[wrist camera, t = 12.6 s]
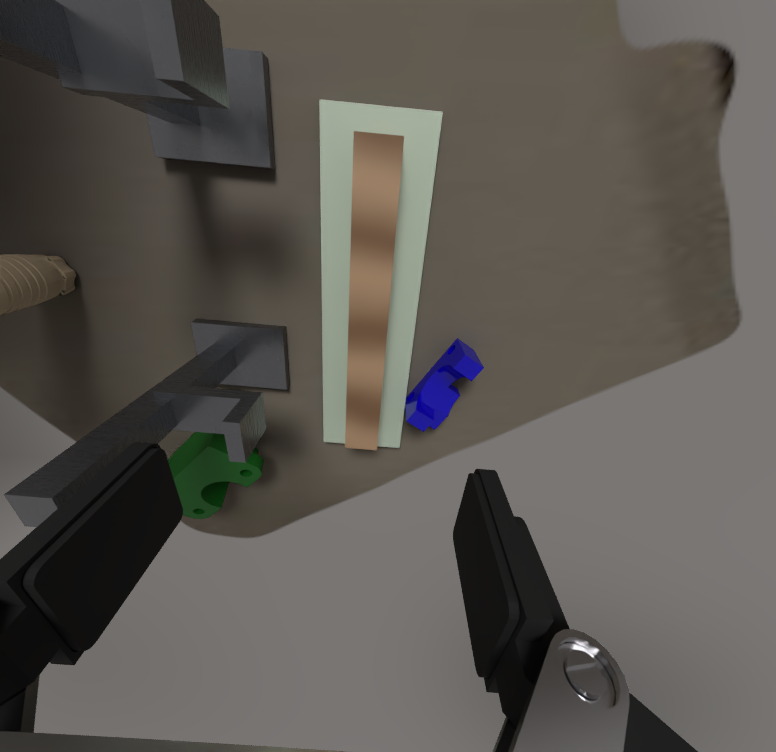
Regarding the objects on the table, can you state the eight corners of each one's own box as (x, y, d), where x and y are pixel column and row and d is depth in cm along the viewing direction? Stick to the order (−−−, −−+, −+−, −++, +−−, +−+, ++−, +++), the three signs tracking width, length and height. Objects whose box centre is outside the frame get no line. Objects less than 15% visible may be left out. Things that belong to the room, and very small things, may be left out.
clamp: (234, 447, 41) (197, 521, 36) (188, 426, 38) (140, 504, 32) (284, 429, 34) (247, 519, 28) (233, 401, 31) (180, 496, 25)
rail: (358, 141, 21) (353, 130, 19) (403, 145, 21) (404, 136, 19) (349, 428, 32) (345, 447, 30) (378, 430, 32) (376, 450, 30)
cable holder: (432, 414, 33) (436, 439, 29) (404, 398, 32) (406, 421, 29) (485, 357, 30) (497, 377, 26) (456, 337, 29) (465, 354, 25)
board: (322, 103, 21) (319, 99, 20) (440, 116, 21) (442, 111, 21) (325, 435, 34) (323, 441, 33) (399, 441, 34) (399, 447, 33)
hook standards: (142, 46, 20) (-825, -585, 4) (284, 60, 20) (-125, -495, 4) (208, 377, 31) (11, 551, 15) (300, 385, 31) (201, 565, 15)
